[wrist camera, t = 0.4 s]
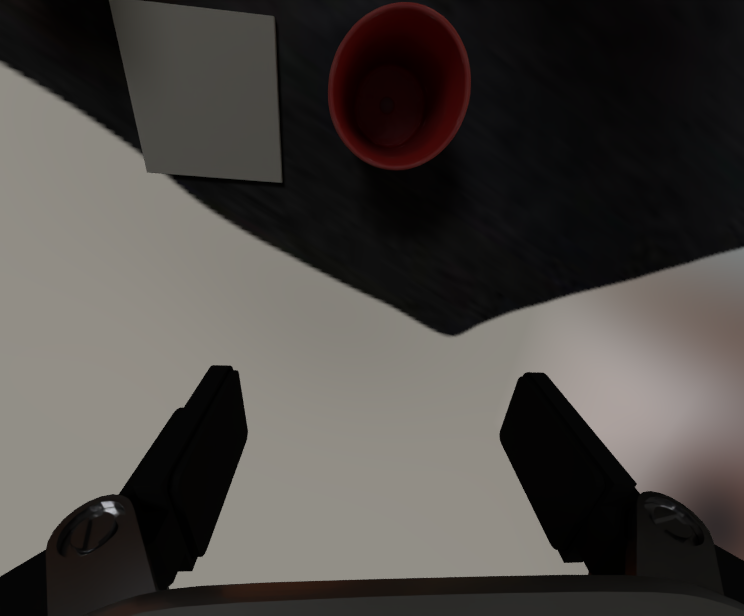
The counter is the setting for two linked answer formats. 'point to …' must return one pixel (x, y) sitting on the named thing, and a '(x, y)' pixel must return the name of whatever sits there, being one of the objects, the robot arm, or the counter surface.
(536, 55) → the counter surface
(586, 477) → the robot arm
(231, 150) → the tile
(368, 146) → the flower pot
